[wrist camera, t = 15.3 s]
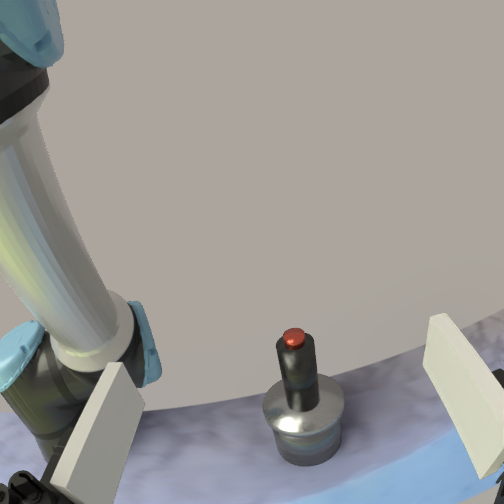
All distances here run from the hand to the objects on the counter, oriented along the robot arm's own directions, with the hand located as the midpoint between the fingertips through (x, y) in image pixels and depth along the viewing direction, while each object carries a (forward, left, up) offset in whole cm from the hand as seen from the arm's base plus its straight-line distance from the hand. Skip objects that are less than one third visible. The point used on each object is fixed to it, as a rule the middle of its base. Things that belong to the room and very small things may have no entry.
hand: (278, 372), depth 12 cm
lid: (-8, +15, -22) cm, 28 cm away
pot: (-8, +15, -31) cm, 35 cm away
